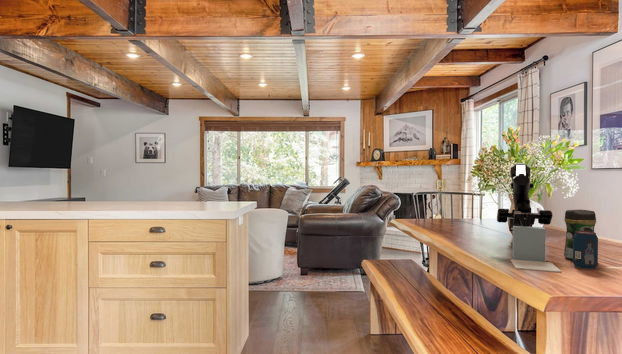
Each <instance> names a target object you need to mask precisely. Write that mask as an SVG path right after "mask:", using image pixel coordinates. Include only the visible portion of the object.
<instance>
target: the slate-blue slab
mask: <svg viewBox="0 0 622 354" xmlns="http://www.w3.org/2000/svg"><path fill="white" fill-rule="evenodd" d="M512 229H513V231H512V235H513V246H512V245H511V247H512V257H511V259H513V260H526V261H539V262H546V228H545V227H543V226H541V227H540V226H532V227H526V226H513V228H512Z"/></svg>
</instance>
